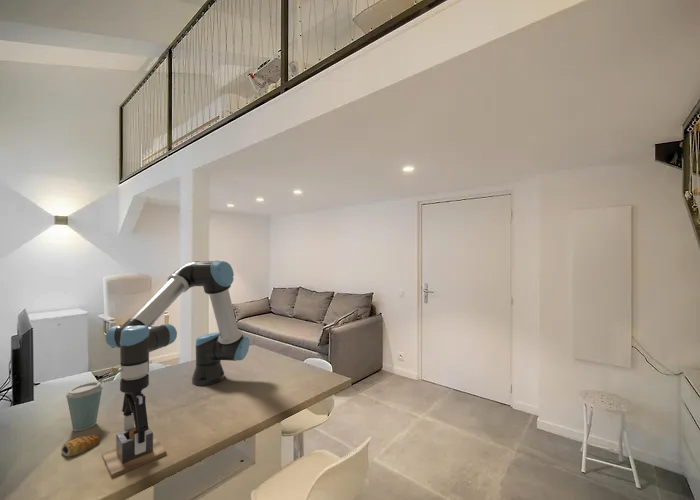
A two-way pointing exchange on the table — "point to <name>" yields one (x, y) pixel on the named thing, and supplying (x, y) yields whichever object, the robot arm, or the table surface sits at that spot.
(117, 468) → the keeper
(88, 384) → the disposable coffee cup
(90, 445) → the pastry
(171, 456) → the table surface
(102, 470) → the table surface
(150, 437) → the hollow square block
